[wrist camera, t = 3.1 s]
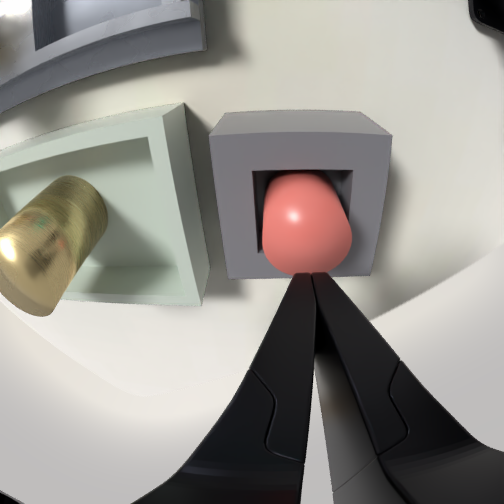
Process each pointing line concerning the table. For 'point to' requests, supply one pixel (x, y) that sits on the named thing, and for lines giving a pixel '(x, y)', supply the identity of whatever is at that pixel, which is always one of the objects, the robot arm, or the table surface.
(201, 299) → the tray
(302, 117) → the grey square socket block
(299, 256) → the button
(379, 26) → the table surface
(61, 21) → the grey flat frame
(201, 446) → the robot arm
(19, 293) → the billet
